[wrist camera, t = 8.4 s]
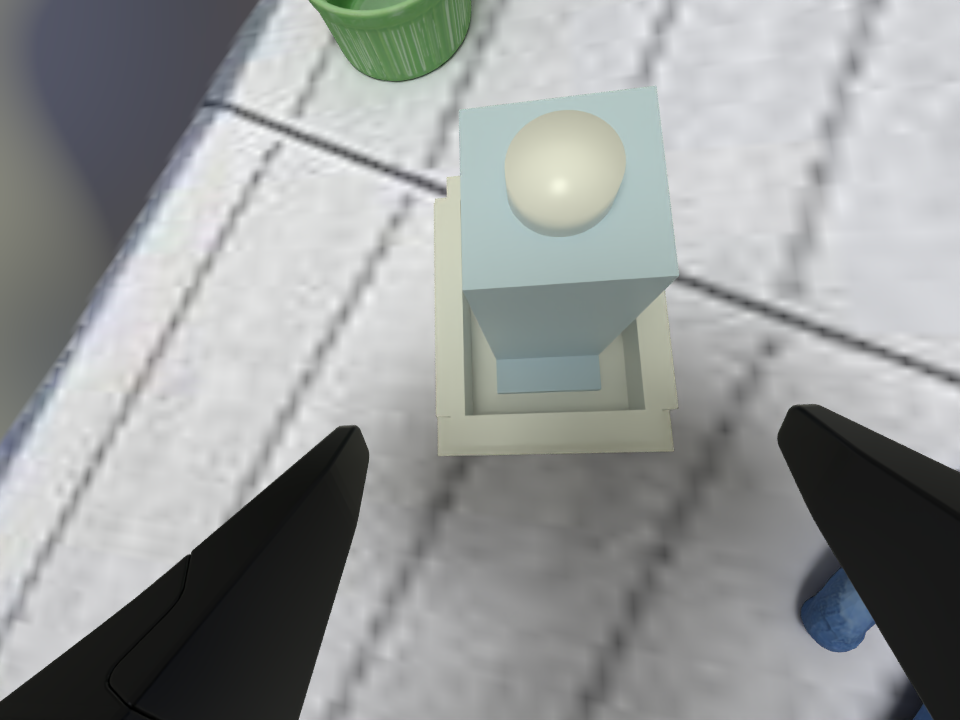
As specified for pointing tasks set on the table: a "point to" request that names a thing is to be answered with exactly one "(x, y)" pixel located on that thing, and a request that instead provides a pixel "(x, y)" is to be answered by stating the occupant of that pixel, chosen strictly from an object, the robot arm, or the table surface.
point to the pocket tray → (542, 416)
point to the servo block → (563, 230)
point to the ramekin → (396, 33)
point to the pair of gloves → (840, 619)
